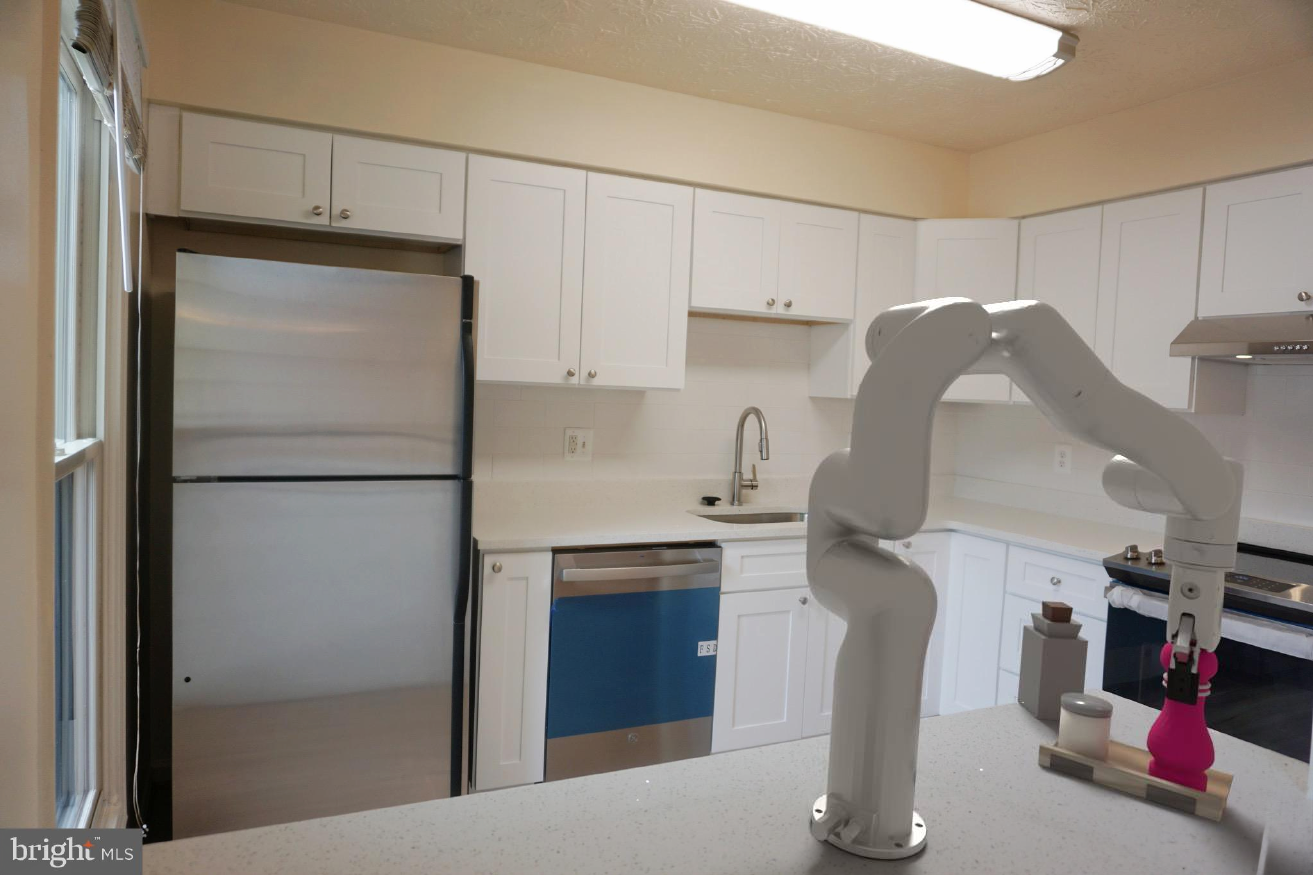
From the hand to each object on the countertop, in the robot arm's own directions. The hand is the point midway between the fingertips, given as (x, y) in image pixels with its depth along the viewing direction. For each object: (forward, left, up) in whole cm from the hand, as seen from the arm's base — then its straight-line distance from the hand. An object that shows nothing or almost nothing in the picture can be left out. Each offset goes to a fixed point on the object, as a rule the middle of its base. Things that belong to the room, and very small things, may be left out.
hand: (1185, 693), depth 100 cm
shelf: (+2, +5, -13) cm, 14 cm away
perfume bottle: (+15, +19, -14) cm, 28 cm away
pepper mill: (0, 0, -12) cm, 12 cm away
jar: (0, +11, -12) cm, 16 cm away
